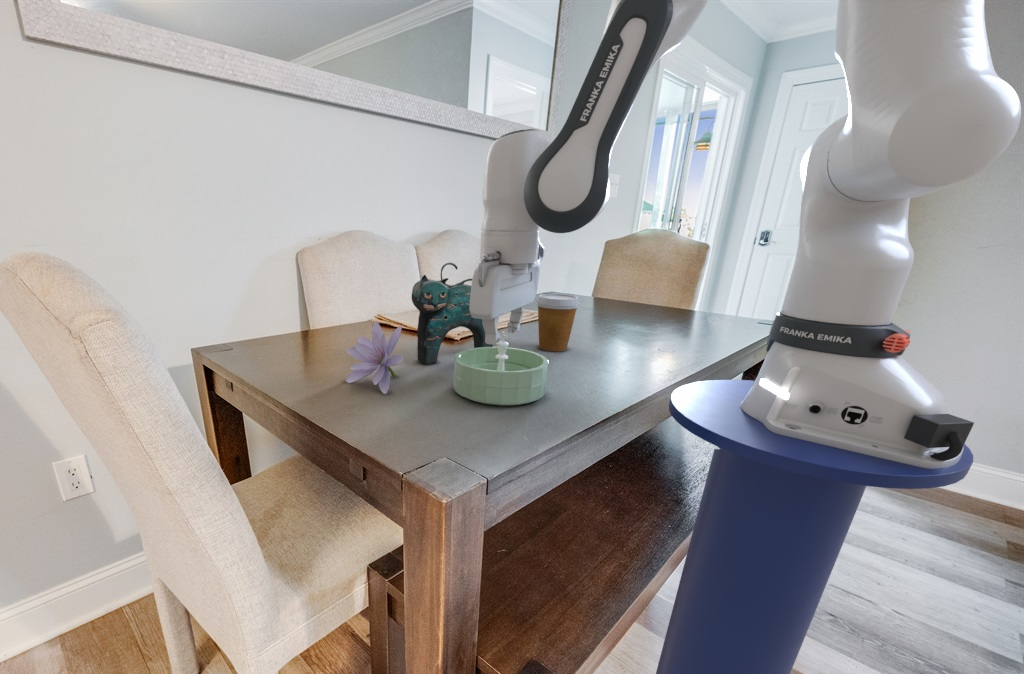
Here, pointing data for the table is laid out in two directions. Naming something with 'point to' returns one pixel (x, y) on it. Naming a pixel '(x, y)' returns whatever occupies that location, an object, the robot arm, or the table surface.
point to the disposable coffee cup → (555, 320)
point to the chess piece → (502, 351)
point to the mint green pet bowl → (500, 376)
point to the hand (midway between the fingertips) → (503, 337)
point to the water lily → (375, 357)
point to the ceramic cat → (443, 315)
